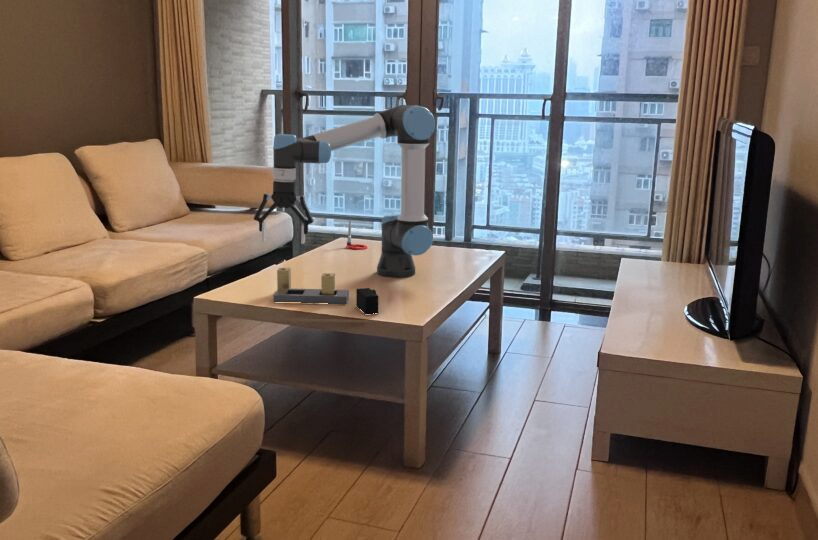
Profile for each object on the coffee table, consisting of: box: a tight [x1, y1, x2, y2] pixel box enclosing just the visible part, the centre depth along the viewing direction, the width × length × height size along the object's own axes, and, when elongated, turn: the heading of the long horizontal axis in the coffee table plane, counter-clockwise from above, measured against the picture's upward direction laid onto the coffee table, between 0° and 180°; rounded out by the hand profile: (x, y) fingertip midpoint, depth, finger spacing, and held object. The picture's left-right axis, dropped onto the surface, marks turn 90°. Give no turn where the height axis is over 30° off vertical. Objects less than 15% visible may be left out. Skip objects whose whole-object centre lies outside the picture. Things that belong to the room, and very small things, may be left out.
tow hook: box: [345, 219, 368, 251], centre depth 345 cm, size 8×13×9 cm
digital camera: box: [355, 287, 379, 315], centre depth 247 cm, size 10×5×7 cm, turn 20°
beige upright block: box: [320, 272, 336, 295], centre depth 256 cm, size 4×4×9 cm
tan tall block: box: [276, 267, 292, 290], centre depth 266 cm, size 4×4×9 cm
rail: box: [273, 288, 350, 304], centre depth 257 cm, size 24×9×4 cm, turn 89°
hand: (283, 242), depth 264 cm, fingers open, 13 cm apart
